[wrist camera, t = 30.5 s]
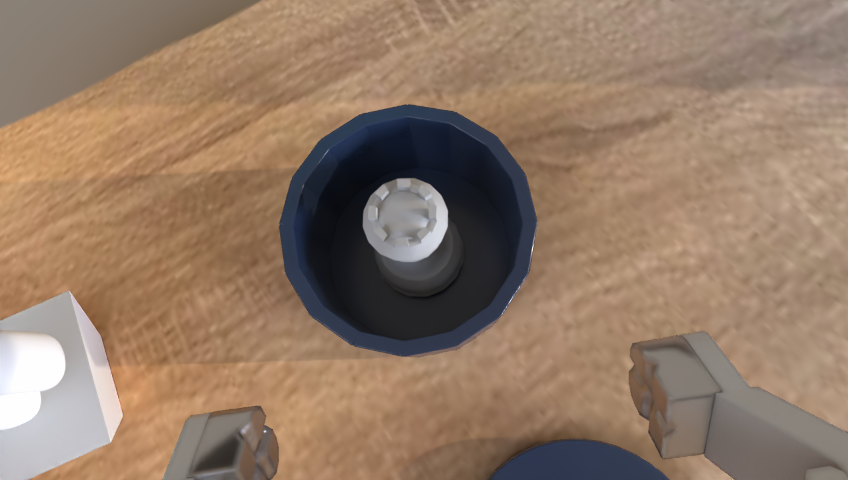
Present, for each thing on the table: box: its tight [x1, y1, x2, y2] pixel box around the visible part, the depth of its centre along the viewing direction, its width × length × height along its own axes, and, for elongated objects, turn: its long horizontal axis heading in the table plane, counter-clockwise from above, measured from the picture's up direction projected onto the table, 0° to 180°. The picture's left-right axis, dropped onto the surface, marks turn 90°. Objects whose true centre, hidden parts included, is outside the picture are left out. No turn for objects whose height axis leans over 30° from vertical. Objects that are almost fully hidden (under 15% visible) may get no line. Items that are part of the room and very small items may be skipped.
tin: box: [279, 104, 537, 357], centre depth 24 cm, size 10×10×6 cm
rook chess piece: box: [363, 178, 463, 296], centre depth 23 cm, size 4×4×8 cm
